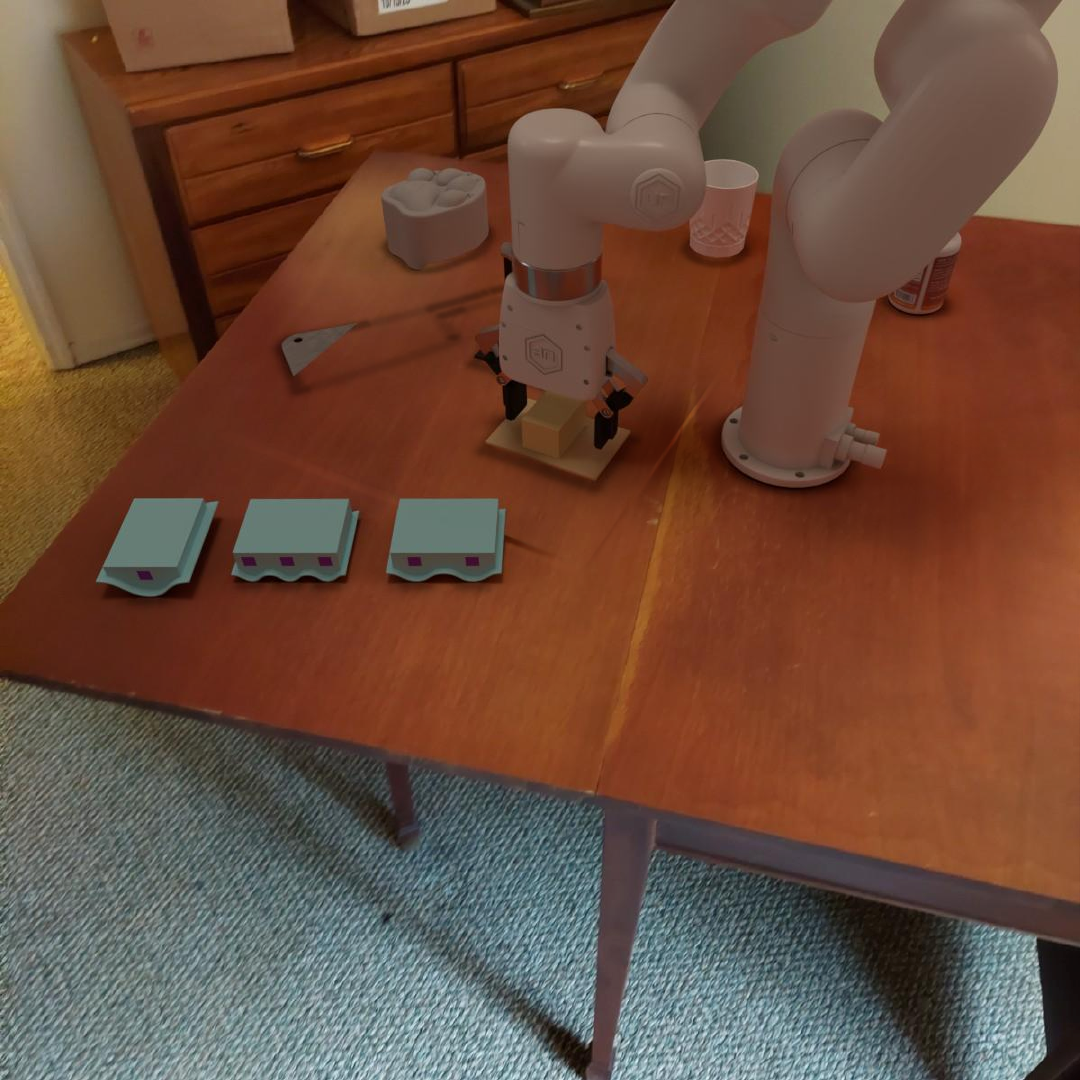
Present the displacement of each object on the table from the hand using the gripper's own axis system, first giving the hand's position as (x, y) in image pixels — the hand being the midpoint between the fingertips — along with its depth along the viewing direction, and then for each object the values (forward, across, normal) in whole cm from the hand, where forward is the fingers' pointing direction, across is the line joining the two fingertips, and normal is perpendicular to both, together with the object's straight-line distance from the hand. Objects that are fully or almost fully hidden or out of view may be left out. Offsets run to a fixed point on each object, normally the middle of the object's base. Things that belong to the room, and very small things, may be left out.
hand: (559, 426), depth 93 cm
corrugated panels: (+2, -13, -24) cm, 27 cm away
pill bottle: (+3, +25, +42) cm, 49 cm away
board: (+2, 0, 0) cm, 2 cm away
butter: (+1, 0, 0) cm, 1 cm away
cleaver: (+2, -24, +10) cm, 26 cm away
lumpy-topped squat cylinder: (+2, -32, +29) cm, 43 cm away
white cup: (+3, 0, +43) cm, 43 cm away
